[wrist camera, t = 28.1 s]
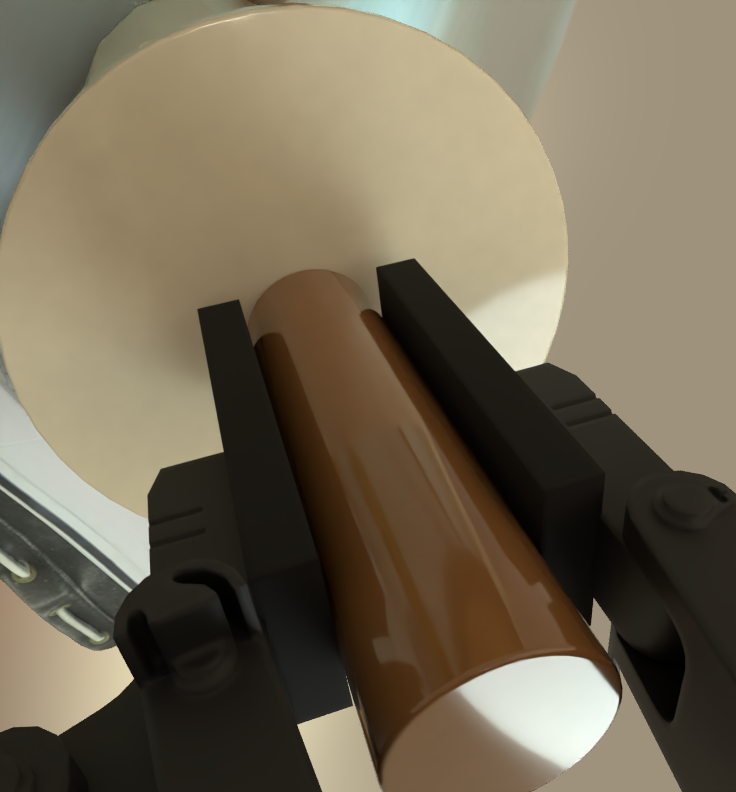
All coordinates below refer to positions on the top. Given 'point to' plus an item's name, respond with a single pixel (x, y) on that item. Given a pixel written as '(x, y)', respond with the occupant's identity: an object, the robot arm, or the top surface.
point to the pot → (153, 27)
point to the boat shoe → (63, 534)
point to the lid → (321, 347)
